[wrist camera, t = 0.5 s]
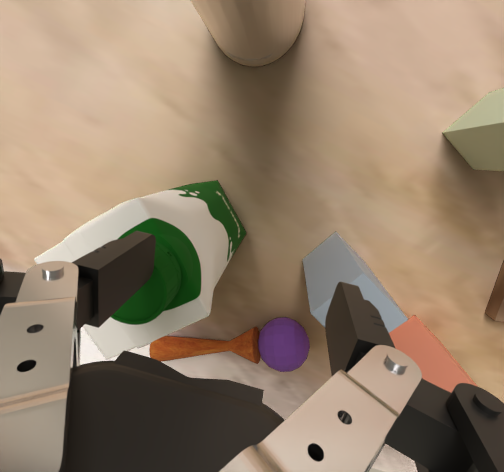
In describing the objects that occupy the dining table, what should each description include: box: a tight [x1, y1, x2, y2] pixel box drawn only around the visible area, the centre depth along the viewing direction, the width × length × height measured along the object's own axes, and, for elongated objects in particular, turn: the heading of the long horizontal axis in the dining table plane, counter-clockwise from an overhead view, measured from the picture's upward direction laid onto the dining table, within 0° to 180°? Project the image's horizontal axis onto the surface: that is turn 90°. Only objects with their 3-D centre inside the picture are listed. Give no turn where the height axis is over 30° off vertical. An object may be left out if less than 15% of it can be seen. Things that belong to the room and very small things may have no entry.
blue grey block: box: [303, 232, 408, 333], centre depth 27 cm, size 5×5×12 cm
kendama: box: [150, 317, 310, 372], centre depth 35 cm, size 6×6×20 cm
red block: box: [389, 315, 478, 393], centre depth 28 cm, size 5×5×12 cm
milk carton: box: [34, 180, 246, 360], centre depth 23 cm, size 9×9×20 cm
